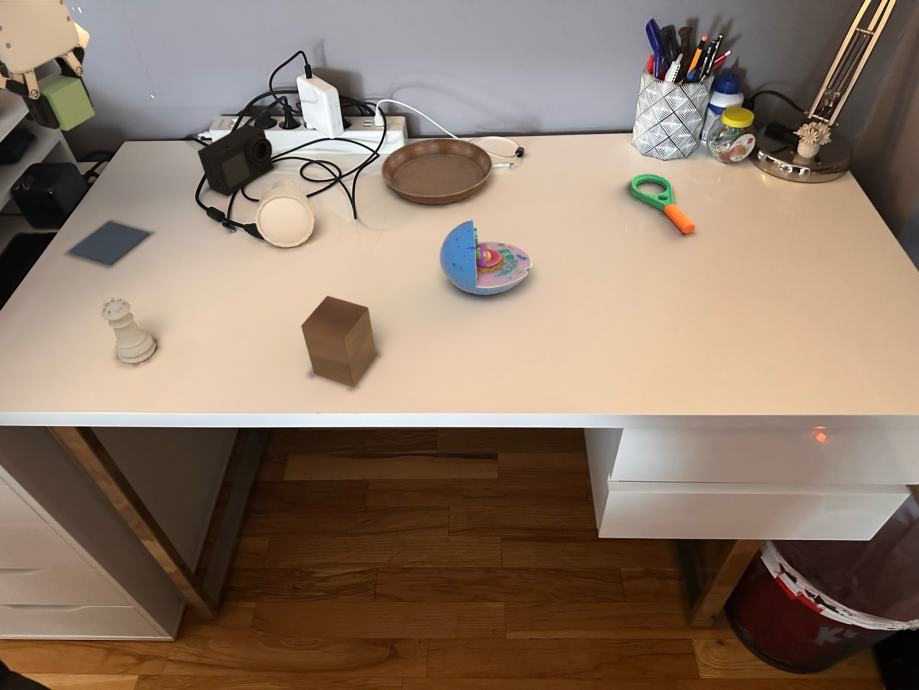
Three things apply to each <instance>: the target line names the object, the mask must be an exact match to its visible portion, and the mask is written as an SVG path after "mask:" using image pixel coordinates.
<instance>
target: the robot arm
mask: <svg viewBox="0 0 919 690" xmlns="http://www.w3.org/2000/svg"><path fill="white" fill-rule="evenodd" d="M90 39H91V34H90V33H89V32H88V31H87V30H85V28H83V27H82V26H81V25H79V24H78V23H77V22H75V20H74V19H73V17H72V15H71V12H70V10H69V8H68V7H67V4H66V2H65V0H0V69H1V68H4V67H6V71H7V74H8V77H5V76H3V75H2V74H1V73H0V89H3V90H4V91H7V92H10V93H12V94H14V95H16V96H19V97H21V98H22V100H23V102H24V104H25V106H26V108H27V110H28V112H29V114H30V115H31V118H32V120H33V121H34V122H35V123H36V124H37V125H38V126H40V127H43V128H47V129H51V130H55V131H56V130H59V129H58V128H59V127H60V124H59V122H58V120H57V118H56V116H55V113H54V111H53V109H52V107H51V105H50V103H49V101H48V99H47V97H46V96H44V95H40V92H39V88H38V84H37V81H38V80H37V77H36V73H35V69H36V68H38V67H40V66H42V65H44V64H47V63H48V62H51V61H52V62H53V63H54V65H55V66H56V67H57V69H58V70H59V72H60V73H59V74H58V75H62V76H67V77H72V78H77V79H80V81H81V83H82V85H83V87H84V90H85V92H86V94H87V97H88V99H89V101H90V103H91V106H92V108H93V109H94V104H93V102H92V100H91V96H90V92H89V91H88V88H87V85H86V83H85V81H84V78H83V77H82V76H83V75H84V74H85V73H84V72H85V69H84V67H83V63H84V59H85V55H86V54H85V53H86V51H85V50H86V49H87V47H88V44H89V41H90Z"/></svg>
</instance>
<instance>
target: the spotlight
mask: <svg viewBox="0 0 919 690" xmlns="http://www.w3.org/2000/svg"><path fill="white" fill-rule="evenodd" d="M313 207H314V206H313V204H312V203H311V201H310V200H309V198H308V197H307V195H306V194H304V193H303V192H302V188H301V187H300V185H298V183H297V182H295V181H294V180H291V179H280V180H278V181H276V182H275V183H274V184H273V185H272V187H271V189H270V190H268V191H266V192H265V193H264V194H262V196H261V197H260V199H259V200H258V201H257V207H256V211H255V218H254V221H255V225H256V229H257V231H258V232H259V234H260V235H261V237H262V238H263V239H264V240H265V241H267V242H269V243H270V244H272V245H273V246H277V247H282V248H291V247H297V246H299V245H300V244H302V243H304V242H305V241H307V240H308V238H309V237H310V236H311V235H312V233H313V231H314V226H315V212H314V208H313Z"/></svg>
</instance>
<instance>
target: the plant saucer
mask: <svg viewBox="0 0 919 690" xmlns="http://www.w3.org/2000/svg"><path fill="white" fill-rule="evenodd" d="M492 170H493V160H492V157H491V156H490V154H489V152H488V151H486V150H485V149H484V148H483V147H481V146H479V145H477V144H475V143H472V142H470V141H467V140H462V139H456V138H448V137H445V138H439V137H438V138H428V139H427V138H426V139H421V140H418V141H414V142H410V143H408V144H406V145H403V146H401V147H399V148H396V149H395V150H394V151H392V152H391V153H390V154H389V155H388V156H387V157H386V158H385V159H384V161H383V162H382V164H381V169H380V171H381V177H382V179H383V180H384V181H385V183H386V184H387V185H388V186H389V188H390V189H392V191H394V192H395V193H396V194H398V195H400V196H401V197H402V198H405V199H407V200H408V201H411V202H413V203H418V204H424V205H443V204H444V205H445V204H450V203H455V202H458V201H461V200H463V199H465V198H467V197H469V196H472V194H474V193H475V192H476V191H477V190H479V189H480V188H481V187H482V186H483V185H484V183H485V182H486V180H488V178H489V177H490V175H491V172H492Z"/></svg>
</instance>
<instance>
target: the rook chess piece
mask: <svg viewBox="0 0 919 690" xmlns="http://www.w3.org/2000/svg"><path fill="white" fill-rule="evenodd" d="M100 307H101V315H100V316H101V318H103V319H104V320H107V321H108V326H109V327H110V328H112V330H113V331H114V334H115V336H116V340H115V343H116V344H115V351H116V354H117V357H118V359H119V360H120V361H121V362H123V363H128V364H130V365H131V364H139V363H142V362H144V361H146V360H148V359H149V358H151V356H152V355H153V354H154V352H155V350H156V346H157V345H156V341H155V340H154V339H153V337H152V336H151V334H150V333H148V332H147V331H145V330H143V329H142V328H140V327H139V325H138V324H137V323H136V322H135V320H134V314H133V313H132V312H130V311H131V308H132V306H131V303H130V302H128V301H125V300H124V299H123V298H122V297H119V296H117V297H116V299H115V297H110V298H109V302H108V301H106V300H104V301H103V303H102V306H100Z"/></svg>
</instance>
